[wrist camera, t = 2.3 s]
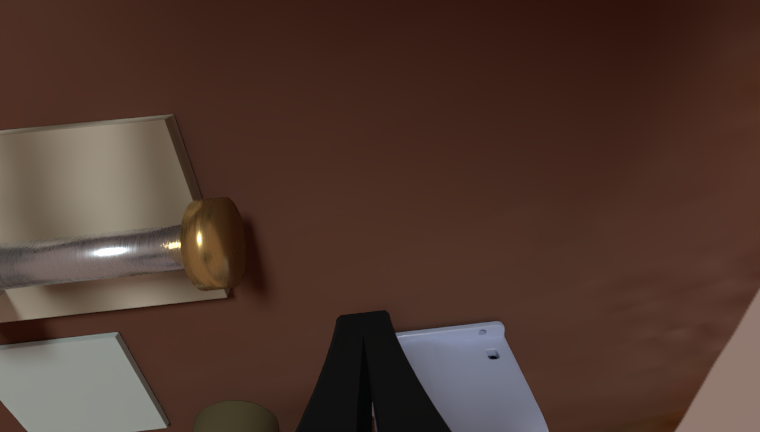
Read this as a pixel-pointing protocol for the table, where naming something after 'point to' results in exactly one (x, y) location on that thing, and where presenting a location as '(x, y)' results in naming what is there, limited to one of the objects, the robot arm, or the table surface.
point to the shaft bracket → (95, 206)
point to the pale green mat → (77, 386)
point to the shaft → (137, 252)
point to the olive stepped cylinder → (235, 418)
